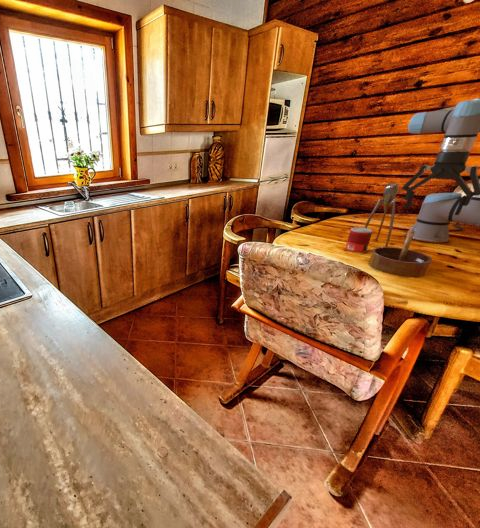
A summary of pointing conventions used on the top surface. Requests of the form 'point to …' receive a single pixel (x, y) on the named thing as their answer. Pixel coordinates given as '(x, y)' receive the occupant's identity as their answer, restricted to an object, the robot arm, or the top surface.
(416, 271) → the bowl
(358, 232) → the canned food
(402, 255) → the wooden spoon
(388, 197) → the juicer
